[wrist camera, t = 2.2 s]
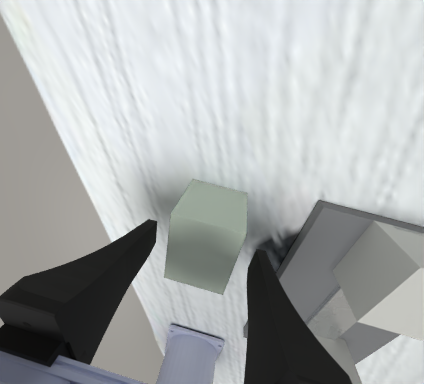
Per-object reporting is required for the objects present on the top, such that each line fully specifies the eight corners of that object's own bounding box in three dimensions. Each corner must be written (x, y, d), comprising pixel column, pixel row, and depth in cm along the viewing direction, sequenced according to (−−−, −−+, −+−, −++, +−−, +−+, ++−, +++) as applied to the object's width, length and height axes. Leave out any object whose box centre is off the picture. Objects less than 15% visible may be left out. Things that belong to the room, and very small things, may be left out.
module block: (229, 245, 18) (222, 294, 13) (184, 232, 18) (164, 277, 14) (247, 192, 15) (246, 234, 10) (193, 178, 15) (170, 213, 11)
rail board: (344, 358, 23) (350, 373, 22) (243, 328, 24) (243, 340, 22) (499, 246, 13) (524, 262, 12) (318, 200, 14) (325, 210, 13)
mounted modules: (319, 360, 22) (332, 409, 19) (271, 345, 23) (275, 391, 19) (462, 243, 12) (545, 301, 9) (373, 220, 13) (420, 267, 9)
